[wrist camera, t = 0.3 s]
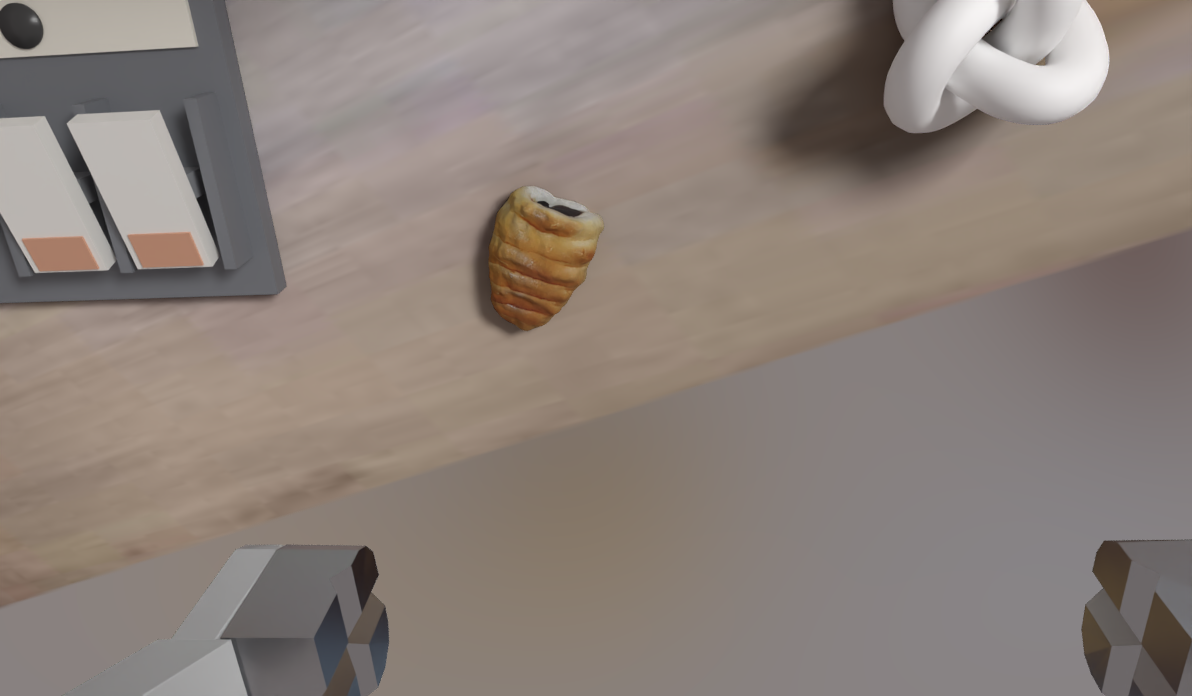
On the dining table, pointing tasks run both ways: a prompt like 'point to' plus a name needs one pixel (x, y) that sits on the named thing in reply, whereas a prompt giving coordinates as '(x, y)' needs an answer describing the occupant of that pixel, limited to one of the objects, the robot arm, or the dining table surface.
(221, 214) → the switch unit
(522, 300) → the pastry
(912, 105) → the white knot sculpture
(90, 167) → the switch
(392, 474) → the dining table surface
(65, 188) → the switch middle
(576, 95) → the dining table surface
